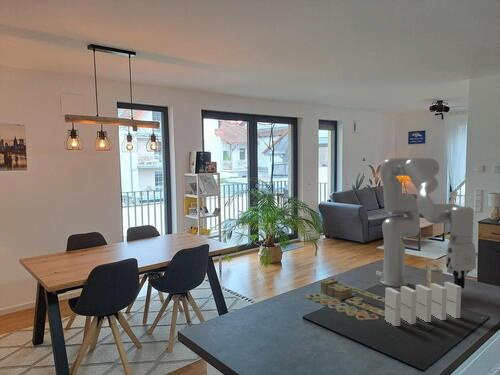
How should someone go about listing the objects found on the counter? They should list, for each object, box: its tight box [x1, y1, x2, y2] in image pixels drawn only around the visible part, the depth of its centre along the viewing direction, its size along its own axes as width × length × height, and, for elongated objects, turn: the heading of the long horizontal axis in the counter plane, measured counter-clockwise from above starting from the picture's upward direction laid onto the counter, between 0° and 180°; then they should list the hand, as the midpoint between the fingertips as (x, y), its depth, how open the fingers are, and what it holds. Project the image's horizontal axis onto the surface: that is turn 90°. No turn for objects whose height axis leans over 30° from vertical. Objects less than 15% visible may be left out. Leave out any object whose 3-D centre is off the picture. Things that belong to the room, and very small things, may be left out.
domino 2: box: [400, 286, 417, 325], centre depth 134 cm, size 2×6×12 cm, turn 15°
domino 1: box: [384, 287, 401, 327], centre depth 132 cm, size 2×6×12 cm, turn 15°
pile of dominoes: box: [304, 277, 385, 322], centre depth 152 cm, size 35×27×6 cm
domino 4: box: [430, 283, 447, 321], centre depth 137 cm, size 2×6×12 cm, turn 15°
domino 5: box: [443, 281, 462, 319], centre depth 139 cm, size 2×6×12 cm, turn 15°
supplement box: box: [424, 264, 443, 289], centre depth 159 cm, size 8×5×13 cm, turn 168°
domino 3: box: [415, 284, 432, 323], centre depth 135 cm, size 2×6×12 cm, turn 15°
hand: (459, 287), depth 139 cm, fingers closed
